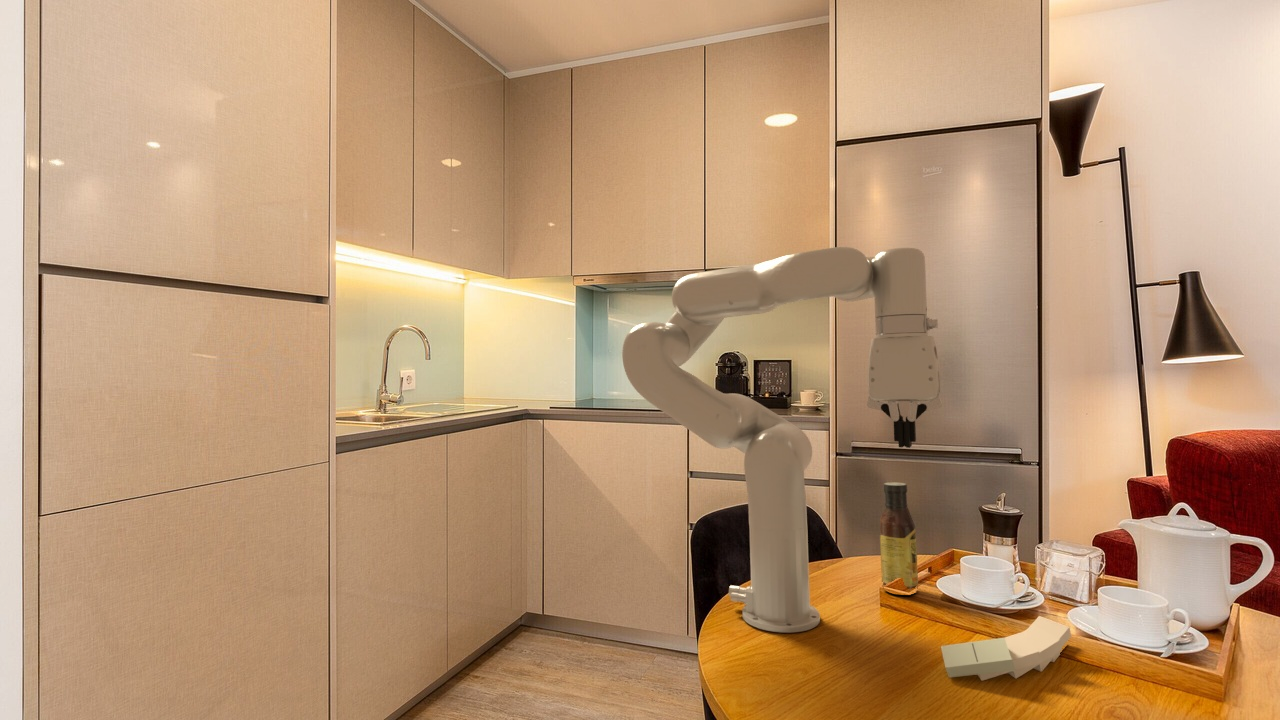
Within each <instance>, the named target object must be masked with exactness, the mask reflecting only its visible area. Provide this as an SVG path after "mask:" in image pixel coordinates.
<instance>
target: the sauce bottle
mask: <svg viewBox="0 0 1280 720" xmlns="http://www.w3.org/2000/svg"><path fill="white" fill-rule="evenodd" d="M883 492H884V494H885V495H884V497H885V499H884V500H885V503H884V505H885V510H884V511H883V513H882V514H881V515H880V518H879V528H880V530H879V531H880V532H879V545H880V546H879V547H880V566H881V582H882V586H883V585H886V584H887V583H889V582H892V581H894V580H895V579H897V578H903V582H904V585H905V586H906V587H907V588H908V589H912V588H915V587H916V586H917V587H918V585H919V575H918V574H919V571H918V554H917V553H918V549H917V548H918V547H917V534H916V532H917V531H916V530H917V529H916V524H915V523H914V519H913V517H912V515H911V513H910V510H909V507H908V502H907V501H908V500H907V497H908V496H907V493H908V485H907V483H905V482H894V481H892V482H885V483H883Z"/></svg>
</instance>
